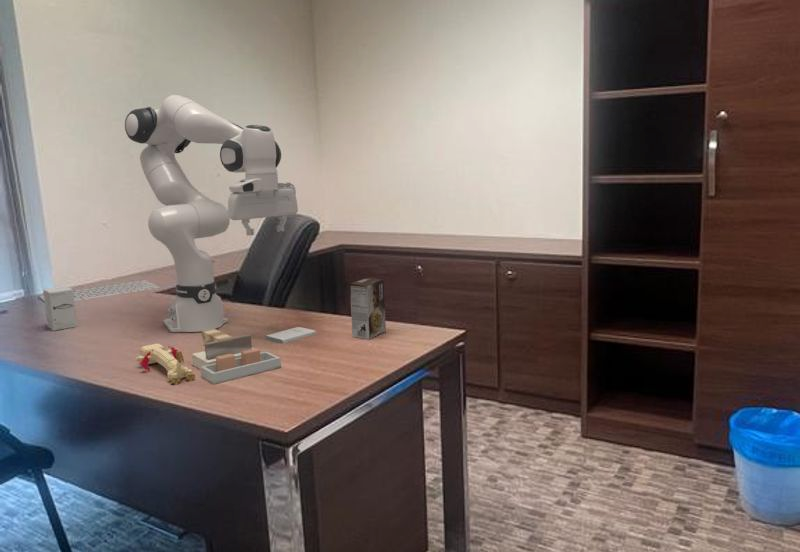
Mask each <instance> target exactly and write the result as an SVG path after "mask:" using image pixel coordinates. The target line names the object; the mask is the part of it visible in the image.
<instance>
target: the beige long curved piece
mask: <svg viewBox="0 0 800 552" xmlns="http://www.w3.org/2000/svg"><path fill="white" fill-rule="evenodd" d="M167 348H168V349H167V350H165V347H164V346H163V345H162V344H160V343H154V344H153V343H152V344H148V345H142V347H140V355H139V356H137V357H135V361H136V362H138V363H139V364H140V365H141V368H143V369H144V370H145V371H146V370H147V371H148V372H151V367H150V366H149V365H150V364H151V365H152V364H156V363H158V364H159V365H161V366H162V367H163V368H165V369H166V371H167V372H166V373H167V379H169V380H170V383H171V384H173V383H174V384H173V385H178V384H179V383H181V382H182V379H183V378H184V377H185V378H184V379H185V380H186V381H188V380H189V382H191V381H193V380H194V379H196V374H195V373H193V370H192V369H191V368H188V367H187V366H183V364H184V363H185V361H184V359H185V358H184V356H183V353H182V351H181V350H179V349H177V348H175V347H172V346H169V345H168V346H167Z"/></svg>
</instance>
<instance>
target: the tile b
mask: <svg viewBox="0 0 800 552" xmlns="http://www.w3.org/2000/svg"><path fill="white" fill-rule="evenodd" d="M260 353H261V351H260V349H258V348H253V349H250V350H245V351H241V360H242V366H244V365H248V364H252V363H256V362H261V361H260Z"/></svg>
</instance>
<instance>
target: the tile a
mask: <svg viewBox="0 0 800 552" xmlns="http://www.w3.org/2000/svg"><path fill="white" fill-rule="evenodd" d="M216 367H217V372H219V371H223V370H227V369H231V368H235V367H236V361H235V355H233V354H227V355H222V356H218V357H216Z"/></svg>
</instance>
